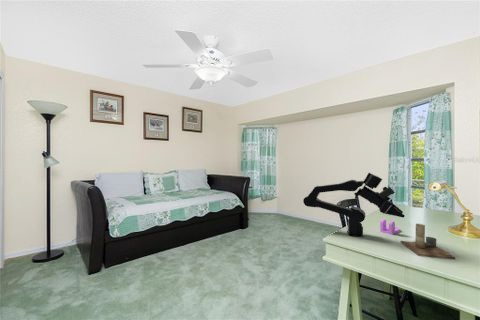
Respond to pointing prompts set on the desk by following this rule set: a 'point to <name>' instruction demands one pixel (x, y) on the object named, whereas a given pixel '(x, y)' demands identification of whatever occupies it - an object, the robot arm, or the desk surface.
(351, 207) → the robot arm
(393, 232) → the bracket
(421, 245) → the crank handle
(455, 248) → the desk surface
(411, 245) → the brown board
